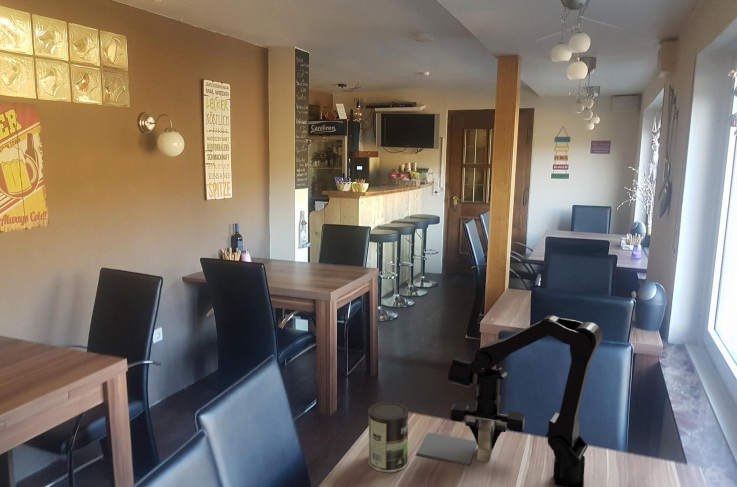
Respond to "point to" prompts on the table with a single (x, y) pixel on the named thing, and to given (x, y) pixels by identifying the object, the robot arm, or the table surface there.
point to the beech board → (485, 440)
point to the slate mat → (448, 448)
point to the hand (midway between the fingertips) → (485, 447)
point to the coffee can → (388, 436)
